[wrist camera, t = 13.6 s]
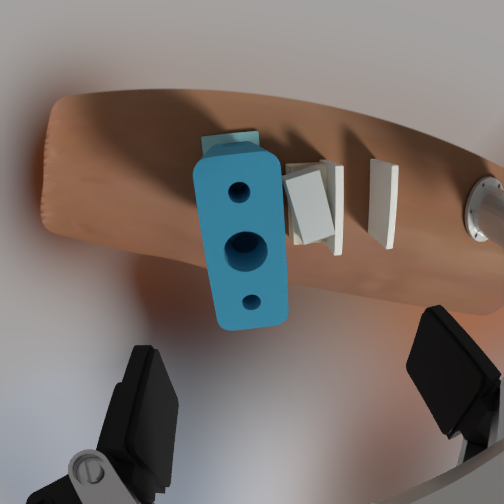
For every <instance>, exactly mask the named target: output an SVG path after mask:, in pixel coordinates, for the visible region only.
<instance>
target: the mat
mask: <svg viewBox="0 0 504 504" xmlns="http://www.w3.org/2000/svg"><path fill="white" fill-rule="evenodd" d="M201 141H202V150H203V156H204V155H205V153H206V152H207V151H208V150H209V149H210V148H211V147H212V146H213V145H216V144H224V143H233V142H242V141H250V142H253V143H255V144H256V145H258V146H260V145H259V133H258V131H250V132H239V133H228V134H219V135H211V136H203V137H201Z"/></svg>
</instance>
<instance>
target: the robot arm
mask: <svg viewBox="0 0 504 504" xmlns="http://www.w3.org/2000/svg"><path fill="white" fill-rule="evenodd" d="M465 226H466V230H467V232H468V234H469V235H470V237H471V238H473V239H474V240H476V241H479V242H483V241H486V240H488V239H490V240H491V241H493V242H494V243H496V244H498V245H499V246H501V247H502V248H504V189H503V186H502V185H501V183H500V182H499V181H498V180H497V179H496V178H493V177H489V176H487V177H483V178H482V179H480V180H479V181H478V182H477V183H476V184H475V185H474V187H473V188H472V190H471V192H470V194H469V197H468V199H467V203H466V208H465ZM406 369H407V372H408V374H409V375H410V377H411V379H412V380H413V382H414V384H415V385H416V387H417V389H418V391H419V392H420V394H421V396H422V397H423V399H424V401H425V403H426V404H427V406H428V408H429V409H430V411H431V413H432V415H433V417H434V419H435V421H436V422H437V424H438V426H439V428H440V430H441V432H442V433H443V434H445V435H447V437H448V439H449V440H450V439H452V438H454V437H456V436H457V435H459V434H460V433H462V435H463V441H462V446H461V451H460V454H459V459H458V462H457V466H456V467H455V468H453V469H451V470H449V471H447V472H446V473H443V474H441V475H440V476H437V477H436V478H433V479H431V480H429V481H427V482H425V483H422V484H421V485H418V486H416V487H413V488H411V489H408V490H406V491H404V492H401V493H398V494H396V495H393V496H391V497H388V498H385V499H382V500H380V501H376V502H374V503H370V504H504V377H503V379H502V380H500V379H499V378H500V376H501V373H500V372H499V371H498V369H497V368H496V367H495V365H494V364H493V363H492V362H491V361H490V359H489V358H488V357H487V356H486V354H484V352H483V351H482V350H481V349H480V348H479V346H478V345H477V344H476V343H475V342H474V340H473V339H472V338H471V337H470V336H469V335H468V334H467V332H466V331H465V330H464V329H463V328H462V327H461V326H460V325H459V324H458V323H457V321H456V320H455V319H454V318H453V317H452V316H451V315H450V314H449V313H448V312H447V311H446V310H445V308H444V307H443V306H441V305H436V306H432V307H428V308H426V310H425V312H424V313H423V314H422V316H421V319H420V323H419V326H418V329H417V333H416V336H415V339H414V343H413V346H412V349H411V351H410V354H409V357H408V360H407V363H406ZM178 406H179V404H178V398H177V396H176V393H175V391H174V388H173V386H172V384H171V381H170V379H169V376H168V374H167V371H166V369H165V366H164V363H163V361H162V358H161V356H160V353H159V351H158V349H154V348H153V347H152V346H151V345H136V346H134V348H133V350H132V353H131V356H130V359H129V363H128V365H127V368H126V371H125V374H124V377H123V380H122V382H120V383H117V384H116V386H115V389H114V391H113V395H112V397H111V401H110V404H109V407H108V410H107V413H106V417H105V420H104V423H103V427H102V430H101V434H100V437H99V441H98V444H97V448H96V450H83V451H80V452H78V453H77V454H76V455H74V456H73V458H72V459H71V461H70V463H69V465H68V473H69V474H67V475H66V476H64V477H62V478H60V479H58V480H57V481H55V482H53V483H51V484H49V485H47V486H45V487H43V488H41V489H40V490H38V491H36V492H34V493H32V494H31V495H30V496H29V497H28V499H27V502H26V504H154V501H155V493H165V487H169V486H170V483H171V473H172V462H173V452H174V442H175V433H176V424H177V415H178Z"/></svg>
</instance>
